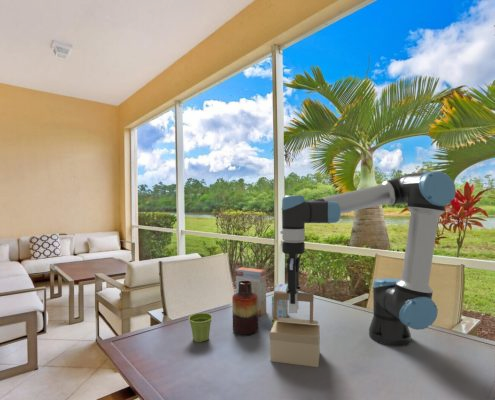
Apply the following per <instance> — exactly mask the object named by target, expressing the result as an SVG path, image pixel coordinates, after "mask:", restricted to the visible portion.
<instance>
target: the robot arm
mask: <svg viewBox="0 0 495 400" xmlns="http://www.w3.org/2000/svg"><path fill="white" fill-rule="evenodd" d="M456 190H457V189H456V184H455V182H454V181H453V179H451V177H450V176H449V174H447V173H445V172H443V171H436V170H435V171H433V170H427V171H424V172H416V173H408V174H404V175H402V176H399V177H396V178H393V179H390V180H385V181H384V180H383V182H381V184H379V185H374V186H370V187H365V188H362V189H357V190H353V191H352V190H351V191H347V192H343V193H338V194H333V195H328V196H324V197H321V198H315V199H312V200H310V199H307V200H306V199H305V196H304V195H284V196H283V197H282V201H281V222H282V223H281V224H282V225H281V226H282V227H281V231H280V232H279V233H280V234H281V235H282V243H281V245H282V246H281V247H282V248H281V252H282V253H283V254H285V255H286V254H287V255H288V257H287V259H286V266H287V267H286V268H287V284H288V291H287V292H286V293H289V300H288V314H298V310H299V301H297V292H299V290H301V286H299V285H300V282H299V280H300V279H299V276H300V275H299V274H300V262H301V258H300V257H299V255H302V254H304V253H305V252H306V251H305V250H306V249H305V245H306V244H305V240H306V235H305V234H306V232H305V230H306V229H305V227H306V226H305V225H306V224H333V223H334V224H335V223H338V222H339V221H340V219H341V215H342V214H345V213H350V212H355V211H359V210H363V209H367V208H368V209H369V208H372V207H377V206H381V205H385V204H386V205H388V206H393V205H399V204H402V205H406V204H407V206H406V208H407V210H408V211H409V212H410V218H409V224H408V231H407V238H406V244H405V251H404V258H403V263H402V264H403V266H402V271H401V278H395V277H394V278H393V277H392V278H391V277H390V278H389V277H383V278H381V277H380V278H376V279H374V280H373V283H372V284H373V287H372V292H373V294H372V295H373V296H372V297H373V298H372V299H373V302H372V303H373V304H372V305H373V307H372V309H373V316H372V320H371V322H370V324H369V325H370V326H369V328H368V335H369V338H371V340H373V341H375V342H377V343H379V344H382V345H387V346H394V347H402V346H403V347H404V346H407V345H409V344H410V343H412V334H411V331H410V329H413V330H419V331H421V330H425V329H428V327H430V326H432V325H433V324H434V323H435V321H436V319H437V318H438V313H439V312H438V306H437V305H436V303H435V302H434V300H433V293H434V292H433V289H432V288H431V287H430V278H431V277H430V276H431V272H432V271H431V270H432V263H433V257H434V252H435V251H434V250H435V244H436V237H437V229H438V222H439V217H440V216H442V215H443V214H444V213H445V212H446V211H445V210H446V206H447V205H449V204H450V203H451V202H452V201H453V200H454V198H455V196H456ZM409 328H410V329H409Z"/></svg>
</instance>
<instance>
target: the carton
mask: <svg viewBox="0 0 495 400" xmlns="http://www.w3.org/2000/svg"><path fill="white" fill-rule="evenodd" d="M320 330H321V329H320V324H318V325H317V324H306V323H296V322H283V321H275V323H274V325H273V327H272V326H271V329H270V331H269V346H270V347H269V350H270V351H269V353H270V355H269V356H270V359H269V360H270V362H275V363H281V364H282V363H283V364H289V365H290V364H291V365H298V366H304V367H313V368H319V363H320V353H321V348H320V343H321V341H320Z"/></svg>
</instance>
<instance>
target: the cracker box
mask: <svg viewBox="0 0 495 400" xmlns="http://www.w3.org/2000/svg"><path fill="white" fill-rule="evenodd" d="M266 271H267V270H266V269H261V268H260V269H259V268H254V267H253V268H252V267H244V266H243V267H242V266H241V267H239V268H236V269H235V294H236V293H238V283H239V282H240V281H251V284H252V292H253V293H255V294H257V296H258V317H261V316H263V315H264V314H266V313H267V277H266V275H267V272H266Z"/></svg>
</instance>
